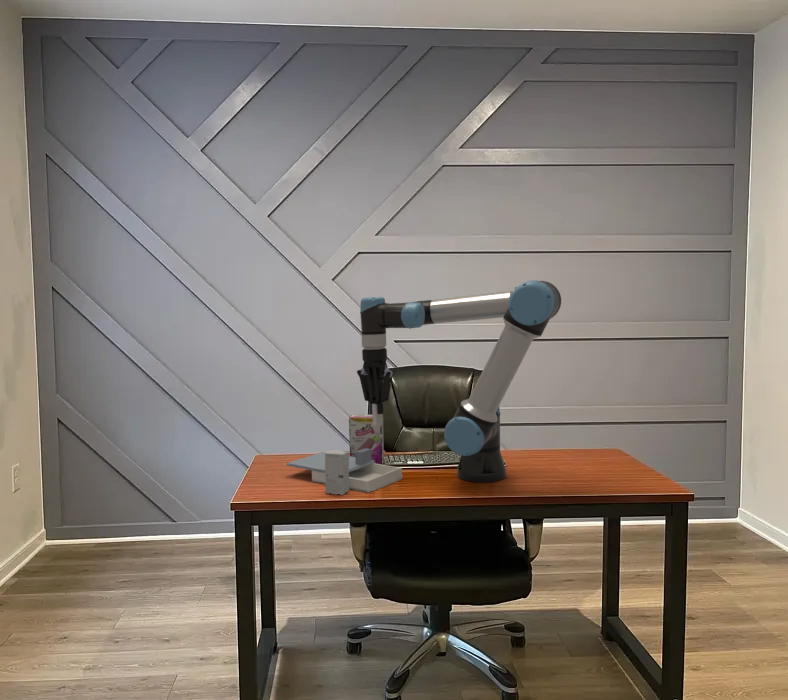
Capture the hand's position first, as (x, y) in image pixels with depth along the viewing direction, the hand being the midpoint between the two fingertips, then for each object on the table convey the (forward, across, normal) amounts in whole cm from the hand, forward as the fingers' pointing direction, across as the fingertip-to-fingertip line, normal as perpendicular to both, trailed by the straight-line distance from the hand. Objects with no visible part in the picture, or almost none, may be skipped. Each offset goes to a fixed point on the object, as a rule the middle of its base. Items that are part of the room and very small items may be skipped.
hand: (377, 424), depth 214 cm
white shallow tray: (+17, +5, +5) cm, 19 cm away
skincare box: (+17, +2, +17) cm, 25 cm away
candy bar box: (+17, +15, -13) cm, 26 cm away
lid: (+14, +16, +5) cm, 21 cm away
